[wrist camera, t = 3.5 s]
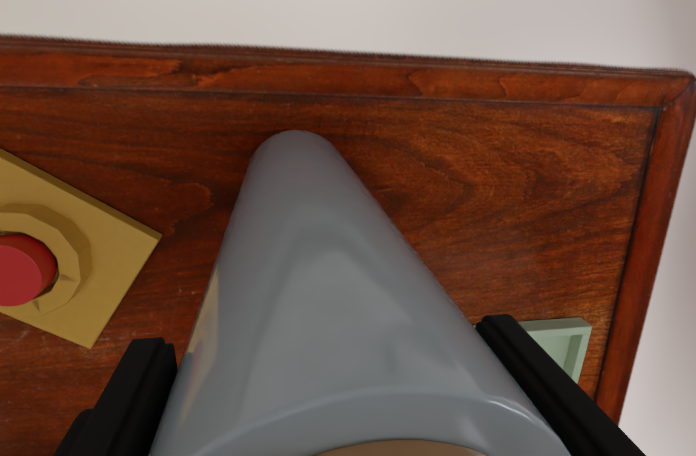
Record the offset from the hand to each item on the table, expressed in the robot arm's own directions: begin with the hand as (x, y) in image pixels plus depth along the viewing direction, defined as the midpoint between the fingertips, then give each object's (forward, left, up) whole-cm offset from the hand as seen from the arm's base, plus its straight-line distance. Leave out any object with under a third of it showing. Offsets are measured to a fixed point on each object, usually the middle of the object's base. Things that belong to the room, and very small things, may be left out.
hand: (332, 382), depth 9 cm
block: (+13, -11, -21) cm, 27 cm away
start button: (+13, -11, -18) cm, 25 cm away
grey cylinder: (0, 0, -19) cm, 19 cm away
